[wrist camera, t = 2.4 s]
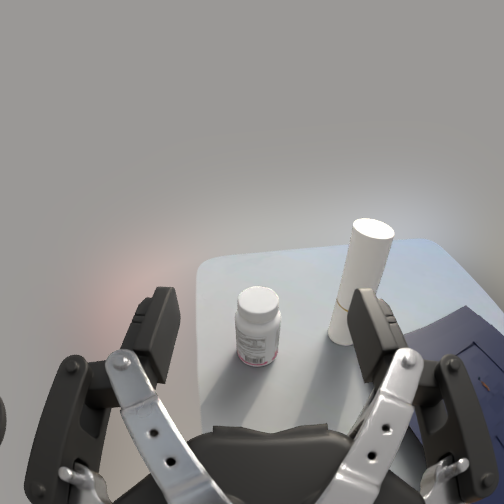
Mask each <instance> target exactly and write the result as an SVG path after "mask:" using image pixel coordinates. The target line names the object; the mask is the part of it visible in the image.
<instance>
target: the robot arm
mask: <svg viewBox="0 0 504 504" xmlns="http://www.w3.org/2000/svg"><path fill="white" fill-rule="evenodd" d="M347 325H348V328H349V332H350V335H351V338H352V341H353V345H354V348H355V351H356V355H357V358H358V362H359V365H360V369H361V372H362V376H363V379H364V383H369V382H373V384H374V388H373V390H372V392H371V394H370V396H369V398H368V400H367V402H366V404H365V406H364V407H363V409H362V411H361V413H360V415H359V417H358V419H357V420H356V422H355V424H354V425H353V426H352V428H351V429H350V431H349V432H348V434H347V435H345V434H342V433H340V432H337V431H332V430H328V425H327V423H326V424H317V425H305V426H298V427H295V428H291V429H288V430H284V431H280V432H276V433H265V432H260V431H256V430H251V429H247V428H243V427H226V426H213V432H210V433H205V434H202V435H199V436H197V437H195V438H192V439H190V440H189V441H187V442H186V441H185V439H184V438H183V436H182V435H181V433H180V432H179V430H178V429H177V427H176V426H175V424H174V422H173V421H172V419H171V417H170V416H169V414H168V412H167V411H166V409H165V407H164V406H163V404H162V402H161V401H160V399H159V397H158V395H157V394H156V392H155V389H156V385H157V383H162V384H165V382H166V378H167V373H168V370H169V365H170V361H171V357H172V353H173V349H174V345H175V341H176V338H177V334H178V330H179V326H180V310H179V305H178V301H177V297H176V292H175V289H174V288H173V287H157V288H156V290H155V292H154V295H153V297H152V298H145V299H144V300H143V301H142V302H141V303H140V304H139V305H138V308H137V310H136V312H135V315H134V317H133V319H132V323H131V324H130V326H129V329H128V331H127V333H126V336H125V338H124V341H123V343H122V346H121V348H120V350H117V351H115V352H113V353H111V354H110V355H109V356H108V358H107V359H106V360H104V361H97V362H89V363H87V362H86V360H85V359H84V358H83V357H82V356H80V355H71V356H69V357H67V358H65V359H64V360H63V361H62V363H61V365H60V366H59V369H58V371H57V374H56V376H55V379H54V381H53V384H52V387H51V389H50V392H49V395H48V397H47V400H46V403H45V406H44V409H43V412H42V415H41V418H40V421H39V424H38V428H37V431H36V435H35V438H34V442H33V445H32V449H31V453H30V457H29V462H28V466H27V471H26V476H25V481H24V490H25V494H26V496H27V498H28V499H29V500H30V502H31V503H32V504H471V503H474V502H476V501H479V500H481V499H484V498H486V497H488V496H490V495H491V494H492V493H493V492H494V491H495V490H496V488H497V486H498V483H499V472H498V467H497V462H496V457H495V453H494V449H493V445H492V441H491V438H490V434H489V431H488V427H487V424H486V421H485V418H484V414H483V411H482V408H481V406H480V403H479V400H478V397H477V394H476V392H475V389H474V387H473V384H472V382H471V379H470V377H469V374H468V372H467V369H466V367H465V365H464V363H463V361H462V360H461V359H460V358H459V357H458V356H456V355H454V354H446V355H444V356H443V357H442V358H441V360H440V361H431V360H424V359H423V358H422V356H421V355H420V354H419V353H418V352H417V351H415V350H414V349H411V348H409V347H408V345H407V343H406V340H405V338H404V336H403V334H402V331H401V329H400V327H399V325H398V323H397V321H396V319H395V317H394V316H393V312H392V310H391V308H390V306H389V305H388V304H387V303H386V302H385V301H384V300H383V299H377V297H376V295H375V293H374V291H373V289H372V288H357V289H355V291H354V293H353V297H352V300H351V303H350V307H349V310H348V314H347ZM443 401H444V402H443ZM444 404H445V405H444ZM114 407H121V410H120V413H121V416H122V419H123V421H124V423H125V425H126V427H127V429H128V431H129V434H130V436H131V438H132V439H133V442H134V444H135V446H136V447H137V449H138V451H139V453H140V455H141V457H142V459H143V460H144V462H145V464H146V466H147V467H148V469H149V471H150V474H149V475H147V476H146V477H145V478H144V479H143V480H141V481H140V482H139V483H137V484H136V485H135V486H134V487H132V488H131V489H130V490H128V491H127V492H126V493H125V494H123V495H122V496H121V497H119V498H118V499H117V500H115V501H114V502H113V503H112V502H111V501H110V499H109V497H108V494H107V485H106V482H105V480H104V479H103V477H102V476H101V475H100V474H98V473H99V466H100V461H101V455H102V450H103V444H104V440H105V435H106V429H107V425H108V421H109V417H110V412H111V408H114ZM445 407H446V409H445ZM414 409H415V413H416V417H417V421H418V425H419V429H420V434H421V438H422V443H423V448H424V453H425V459H426V464H427V470H426V471H425V472H424V474H423V477H422V481H421V482H420V487H421V490H420V492H418V491H416V490H415V489H414V488H412V487H411V486H410V485H408V484H407V483H406V482H405V481H403V480H402V479H401V478H399V477H398V476H397V475H396V474H394V473H393V472H392V471H391V470H389V468H390V466H391V464H392V462H393V460H394V458H395V455H396V453H397V451H398V449H399V447H400V444H401V442H402V440H403V437H404V435H405V433H406V430H407V428H408V425H409V423H410V420H411V417H412V415H413V412H414ZM446 410H447V412H446ZM447 414H448V415H447Z"/></svg>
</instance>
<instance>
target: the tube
mask: <svg viewBox="0 0 504 504" xmlns="http://www.w3.org/2000/svg"><path fill="white" fill-rule="evenodd" d="M393 237H394V231H393V229H392V228H391V227H390V226H388V225H386V224H385V223H383V222H380V221H377V220H373V219H358V220H356V221H354V223H353V228H352V233H351V238H350V243H349V248H348V253H347V257H346V262H345V266H344V270H343V275H342V279H341V283H340V287H339V291H338V295H337V299H336V303H335V306H334V310H333V314H332V317H331V321H330V324H329V328H328V335H329V337H330V339H331V340H332V341H333V342H335V343H337V344H339V345H343V346H349V345H352V344H353V341H352V338H351V335H350V332H349V328H348V325H347V314H348V310H349V307H350V303H351V300H352V297H353V293H354V291H355V289H357V288H372V289H373V291H374V293H375V295H376V292H377V289H378V286H379V283H380V280H381V277H382V274H383V271H384V268H385V265H386V261H387V258H388V255H389V251H390V248H391V244H392V241H393Z"/></svg>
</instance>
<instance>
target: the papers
mask: <svg viewBox="0 0 504 504" xmlns="http://www.w3.org/2000/svg"><path fill="white" fill-rule="evenodd" d="M403 336H404V338H405V340H406V343H407V345H408V347H409V348H411V349H414V350H415V351H417V352H418V353H419V354H420V355H421V356H422V358H423V359H424V360H431V361H440V360H441V358H442V357H443V356H444V355H446V354H454V355H456V356H458V357H459V358H460V359H461V360H462V361H463V363H464V365H465V367H466V369H467V372H468V374H469V377H470V379H471V382H472V384H473V387H474V389H475V392H476V394H477V397H478V400H479V403H480V406H481V408H482V411H483V414H484V418H485V421H486V424H487V427H488V431H489V434H490V438H491V441H492V445H493V449H494V453H495V457H496V462H497V467H498V472H499V483H498V486H497V488H496V490H495V491H494V492H493V493H492V494H491V495H490V496H488V497H486V498H484V499H481V500H479V501H476V502H474V503H471V504H504V336H503V335H502V334H501V333H500V332H499V331H498V330H497V329H496V328H494V327H493V326H492V325H490V324H489V323H488V322H487V321H485V320H484V319H483V318H482V317H481V316H479V315H477V314H476V313H475V312H473V311H472V310H471V309H470V308H468V307H467V306H464V307H462V308H460V309H458V310H457V311H455V312H453V313H451V314H449V315H448V316H446V317H444V318H442V319H440V320H438V321H436V322H434V323H432V324H430V325H428V326H426V327H424V328H421V329H418V330H416V331H413V332H410V333H407V334H404V335H403ZM443 402H444V401H443ZM444 405H445V404H444ZM445 409H446V407H445ZM446 412H447V410H446ZM447 415H448V414H447ZM409 426H410V427H411V429H412V430H413V432H414V433H415V435H416V436H417V438H418V439H419V441H420V442H421V444H422V445H423V443H422V438H421V434H420V429H419V425H418V421H417V417H416V413H415V409H414V412H413V415H412V417H411V420H410V423H409Z"/></svg>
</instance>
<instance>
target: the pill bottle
mask: <svg viewBox="0 0 504 504" xmlns="http://www.w3.org/2000/svg"><path fill="white" fill-rule="evenodd" d="M280 325H281V314H280V311H279V298H278V296H277V294H276V293H275V292H274V291H273V290H271V289H269V288H266V287H259V286H256V287H250V288H247V289H245V290H244V291H242V292H241V293H240V295H239V296H238V309H237V311H236V314H235V328H236V343H237V353H238V356H239V358H240V359H241V360H242V361H243V362H244V363H245V364H247V365H250V366H254V367H260V366H265V365H267V364H269V363H271V362H272V361H273V360H274V359H275V358H276V356H277V353H278V345H279V335H280Z"/></svg>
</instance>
